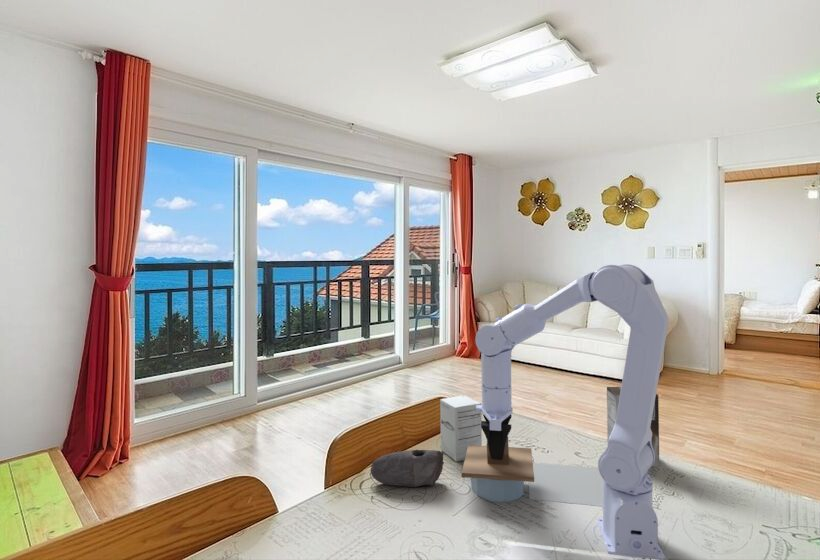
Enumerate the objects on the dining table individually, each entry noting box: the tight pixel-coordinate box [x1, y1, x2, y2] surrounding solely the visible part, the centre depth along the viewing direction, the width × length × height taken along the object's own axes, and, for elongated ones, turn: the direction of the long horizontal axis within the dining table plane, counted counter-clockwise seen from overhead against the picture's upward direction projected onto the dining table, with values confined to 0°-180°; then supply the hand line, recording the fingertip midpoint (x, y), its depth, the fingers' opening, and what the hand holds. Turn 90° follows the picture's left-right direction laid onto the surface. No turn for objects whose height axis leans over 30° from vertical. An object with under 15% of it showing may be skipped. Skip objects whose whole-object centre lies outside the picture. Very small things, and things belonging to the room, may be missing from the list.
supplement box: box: [439, 395, 483, 463], centre depth 105 cm, size 7×7×13 cm
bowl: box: [470, 478, 525, 503], centre depth 87 cm, size 10×10×4 cm
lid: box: [461, 435, 534, 483], centre depth 87 cm, size 13×13×5 cm
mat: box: [527, 462, 603, 507], centre depth 89 cm, size 16×16×1 cm
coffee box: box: [606, 386, 660, 467], centre depth 99 cm, size 9×6×16 cm
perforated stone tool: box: [370, 449, 445, 488], centre depth 90 cm, size 15×5×7 cm, turn 84°
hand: (497, 453), depth 87 cm, fingers closed on lid, 4 cm apart
